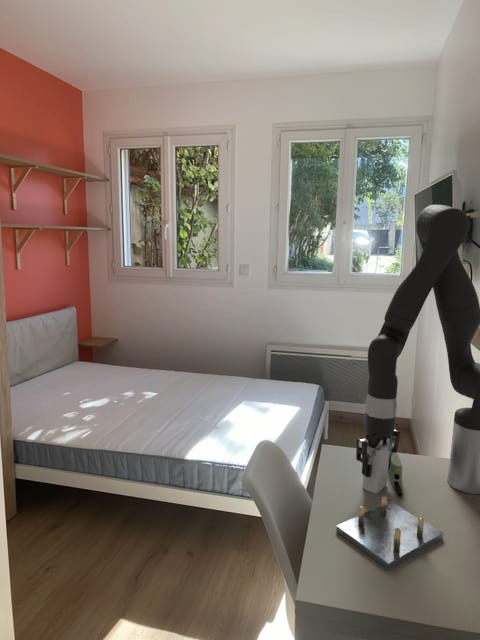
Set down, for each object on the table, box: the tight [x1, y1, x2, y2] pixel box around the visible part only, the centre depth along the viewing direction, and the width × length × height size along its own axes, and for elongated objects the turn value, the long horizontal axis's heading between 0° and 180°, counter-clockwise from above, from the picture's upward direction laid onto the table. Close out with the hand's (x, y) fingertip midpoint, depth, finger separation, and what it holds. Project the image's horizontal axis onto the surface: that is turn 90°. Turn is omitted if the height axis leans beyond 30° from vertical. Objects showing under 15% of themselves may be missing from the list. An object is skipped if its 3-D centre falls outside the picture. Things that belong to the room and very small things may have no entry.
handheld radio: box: [387, 443, 404, 498], centre depth 125 cm, size 7×3×25 cm
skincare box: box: [362, 445, 390, 495], centre depth 117 cm, size 6×4×12 cm
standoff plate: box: [336, 495, 444, 571], centre depth 99 cm, size 18×14×6 cm
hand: (375, 472), depth 118 cm, fingers closed on skincare box, 6 cm apart
